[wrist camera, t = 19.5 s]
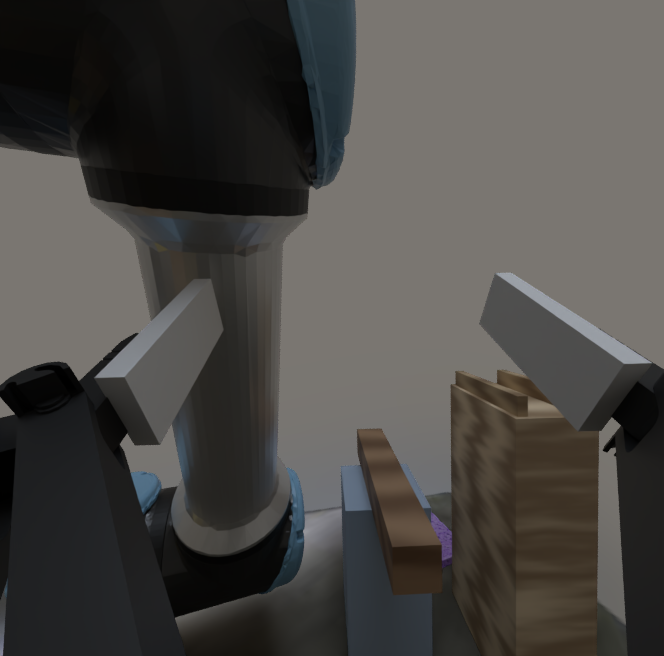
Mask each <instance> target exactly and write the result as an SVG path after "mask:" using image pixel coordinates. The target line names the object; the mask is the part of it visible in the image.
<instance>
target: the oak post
mask: <svg viewBox="0 0 664 656" xmlns="http://www.w3.org/2000/svg"><path fill="white" fill-rule="evenodd" d="M598 461H599V431H579V432H578V431H577V430H576V429H575V428H574V427H573V426H572V425H571V424H570V423H569V422H568V420H567V419H566V418H565V417H564V416H563V415H562V414H561V413H560V412H559V411H558V409H557V408H556V407H555V406H554V405H553V404H552V403H551V402H550V401H549V400H548V399H547V397H546V396H545V395H544V394H543V393H542V392H541V391H540V390H539V389H538V388H537V387H536V385H535V384H534V383H533V382H532V381H531V380H530V379H529V378H528V377H527V376H524V375H520V374H517V373H513V372H510V371H506V370H497V383H493V382H490V381H487V380H485V379H482V378H480V377H477V376H474V375H472V374H469V373H467V372H464V371H456V384H451V485H452V593H453V595H454V597H455V599H456V601H457V604H458V606H459V608H460V610H461V612H462V614H463V617H464V619H465V621H466V623H467V625H468V627H469V630H470V632H471V634H472V636H473V638H474V640H475V643H476V645H477V647H478V649H479V651H480V653H481V656H597V563H598V555H597V554H598V463H599V462H598Z"/></svg>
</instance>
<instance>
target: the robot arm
mask: <svg viewBox="0 0 664 656" xmlns="http://www.w3.org/2000/svg"><path fill="white" fill-rule="evenodd" d="M355 67H356V11H355V0H0V147H5V148H9V149H18V150H27V151H34V152H38V153H42V154H52V155H60V156H69V157H74V158H79V160H80V164H81V168H82V172H83V176H84V179H85V183H86V187H87V191H88V195H89V198H90V201H91V203H92V204H93V205H94V206H96V207H97V208H98V209H100V210H101V211H102V212H104V213H105V214H106V215H108V216H109V217H110V218H112V219H113V220H114V221H115V222H117V223H118V224H120V225H121V226H122V227H123V228H125V229H126V230H127V231H128V232H129V233H130V234H131V235H132V237H133V238H134V239H135V243H136V249H137V253H138V258H139V264H140V268H141V273H142V278H143V283H144V288H145V293H146V298H147V303H148V308H149V313H150V317H151V322H150V323H149V324H148V325H147V326H146V327H145V328H144V329H143V330H142V331H141V332H140V333H135V334H133V335H132V336H130V337H128V338H126V339H125V340H123V341H121V342H120V343H119V344H118V345H117V346H116V347H115V348H114V349H113V350H112V352H111V353H108V355H106V356H105V357H104V358H103V360H101V361H100V362H99V363H98V364H97V365H96V366H95V367H94V368H93V369H91V370H90V372H88V373H87V374H86V375H85V376H84V377H83V378H82V379H81V380H80V381H78V380H77V378H76V376H75V375H74V373H73V371H72V370H71V369H70V367H69V366H68V365H67V364H66V363H63V362H51V363H44V364H41V365H37V366H33V367H31V368H28V369H26V370H23V371H21V372H19V373H17V374H16V375H14V376H12V377H10V378H9V379H8V380H6V381H5V382H4V383H3V384H1V385H0V397H1V398H2V400H3V401H4V402H5V403H6V404H7V405H8V406H9V407H10V409H11V410H12V411H13V412H14V413H15V415H11V416H7V417H3V418H0V599H1V596H2V593H3V590H4V588H5V585H6V582H7V586H6V588H5V593H4V594H5V597H6V599H7V601H6V617H5V633H4V649H3V656H186V654H185V650H184V646H183V642H182V639H181V636H180V634H179V631H178V627H177V624H176V621H175V617H178V616H182V615H185V614H189V613H192V612H196V611H199V610H202V609H206V608H209V607H213V606H216V605H220V604H223V603H227V602H230V601H234V600H237V599H240V598H244V597H247V596H251V595H254V594H258V593H259V594H265V593H268V592H271V591H272V590H273V589H274V588H276V587H279V586H282V585H284V584H287V583H289V582H290V581H291V580H292V579H293V578H294V577H295V576H296V574H297V572H298V570H299V568H300V565H301V561H302V557H303V550H304V534H303V530H304V524H305V518H304V504H303V496H302V490H301V486H300V481H299V478H298V476H297V474H296V473H295V471H294V470H292V469H290V468H286V467H285V465H284V463H283V462H282V460H281V459H280V458H279V457H278V456H277V442H278V441H277V440H278V401H279V364H280V326H281V325H280V324H281V288H282V249H283V248H282V247H283V242H284V241H285V239H286V237H287V236H288V235H289V234H290V233H291V232H292V231H294V230H295V229H296V228H297V227H298V226H299V225H300V224H301V223H302V222H303V221H304V220H305V219H307V214H308V212H307V211H308V198H309V188H310V186H312V187H314V188H315V189H319V188H320V187H322V186H326V185H328V184H330V183H331V182H332V181H333V180H334V179H335V177H336V175H337V173H338V171H339V169H340V166H341V163H342V161H343V155H344V137H345V136H346V135H347V134H348V133H349V129H350V123H351V115H352V106H353V97H354V84H355ZM479 324H480V325H481V326H482V327H483V329H484V330H485V331H486V332H487V333H488V334H489V335H490V336H491V337H492V338H493V339H494V341H495V342H496V343H497V344H498V345H499V346H500V347H501V348H502V349H503V350H504V351H505V352H506V354H507V355H508V356H509V357H510V358H511V359H512V360H513V361H514V362H515V364H516V365H517V366H518V367H519V368H520V369H521V370H522V371H523V372H524V373H525V374H526V376H527V377H528V378H529V379H530V380H531V381H532V382H533V383H534V384H535V385H536V387H537V388H538V389H539V390H540V391H541V392H542V393H543V394H544V395H545V396H546V397H547V399H548V400H549V401H550V402H551V403H552V404H553V405H554V406H555V407H556V408H557V409H558V411H559V412H560V413H561V414H562V415H563V416H564V417H565V418H566V419H567V420H568V422H569V423H570V424H571V425H572V426H573V427H574V428H575V429H576V430H577V431H578V432H579V431H601V430H602V429H603V428H604V426H605V425H606V424H607V423H608V421H609V420H610V419H611V417H612V418H614V419H615V420H616V421H617V422H618V423H619V424H620V425H621V426H620V428H619V429H618V430H617V431H616V433H615V434H614V435H613V436H612V438H611V439H610V440H609V442H608V443H607V444H606V445H605V446H604V449H603V451H604V452H608V451H609V450H610V449H611V448H615V447H616V453H615V454H614V456H616V460H617V477H618V494H619V513H620V528H621V529H620V530H621V547H622V564H623V581H624V599H625V616H626V633H627V651H628V656H664V369H662V368H660V367H659V366H657V365H656V364H654V363H653V362H651V361H649V360H648V359H646V358H645V357H643V356H641V355H640V354H638V353H637V352H635V351H634V350H632V349H631V348H629V347H627V346H625V345H624V344H623V343H621V342H620V341H618V340H616V339H614V338H613V337H612V336H610V335H609V334H607V333H605V332H604V331H602V330H601V329H599V328H597V327H595V326H594V325H592V324H591V323H589V322H587V321H586V320H584V319H583V318H581V317H580V316H578V315H576V314H575V313H573V312H572V311H570V310H569V309H567V308H565V307H564V306H562V305H561V304H559V303H558V302H556V301H555V300H553V299H551V298H550V297H548V296H547V295H545V294H544V293H542V292H540V291H539V290H537V289H536V288H534V287H532V286H531V285H529V284H528V283H526V282H525V281H523V280H522V279H520V278H519V277H517V276H515V275H514V274H512V273H495V275H494V278H493V281H492V285H491V288H490V291H489V294H488V297H487V301H486V304H485V307H484V310H483V313H482V316H481V320H480V323H479ZM171 424H172V426H173V431H174V437H175V442H176V447H177V452H178V457H179V462H180V466H181V472H182V477H183V479H182V480H181V482H180V483H179V485H178V486H177V487H171V488H165V489H161V482H160V481H159V479H158V478H157V476H156V475H155V474H153V473H147V472H132V473H130V469H129V466H128V463H127V460H126V457H125V453H124V451H123V449H122V447H121V446H120V443H121V441H122V440H123V438H124V437H125V436H126V434H127V433H128V435H129V437H130V438H131V440H132V442H133V443H134V445H160V444H161V442H162V440H163V438H164V437H165V435H166V433H167V431H168V429H169V427H170V426H171Z"/></svg>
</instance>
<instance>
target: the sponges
mask: <svg viewBox="0 0 664 656" xmlns="http://www.w3.org/2000/svg"><path fill="white" fill-rule="evenodd" d="M431 525H432V527H433V529H434V531H435V533H436V535H437V536H438V538H439V540H440V542H441V544H442V568H444V567H446V566H448V565H450V564H452V532H451V531H449V529H448V528H447V527H446V526H445V525H444V524H443V523H442V522H440V521H439V519H438V518H437V517H436V516H435V515H434V514H433V513H432V512H431Z"/></svg>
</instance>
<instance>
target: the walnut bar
mask: <svg viewBox="0 0 664 656" xmlns="http://www.w3.org/2000/svg"><path fill="white" fill-rule="evenodd" d="M357 443H358V444H357V445H358V446H357V447H358V457H359V461H360V464H361V469H362V473H363V477H364V481H365V485H366V489H367V493H368V497H369V501H370V505H371V509H372V513H373V517H374V521H375V525H376V529H377V533H378V537H379V541H380V545H381V549H382V553H383V557H384V561H385V565H386V569H387V573H388V577H389V581H390V585H391V589H392V593H393V595H409V594H429V593H442V544H441V542H440V540H439V538H438V536H437V535H436V533H435V531H434V529H433V527H432V525H431V523H430V521H429V519H428V517H427V515H426V513H425V512H424V510H423V508H422V506H421V504H420V502H419V500H418V498H417V496H416V494H415V492H414V490H413V489H412V487H411V485H410V483H409V481H408V479H407V477H406V475H405V473H404V471H403V469H402V467H401V465H400V464H399V462H398V460H397V458H396V456H395V454H394V452H393V450H392V448H391V446H390V444H389V442H388V441H387V439H386V437H385V435H384V433H383V431H382V429H357Z"/></svg>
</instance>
